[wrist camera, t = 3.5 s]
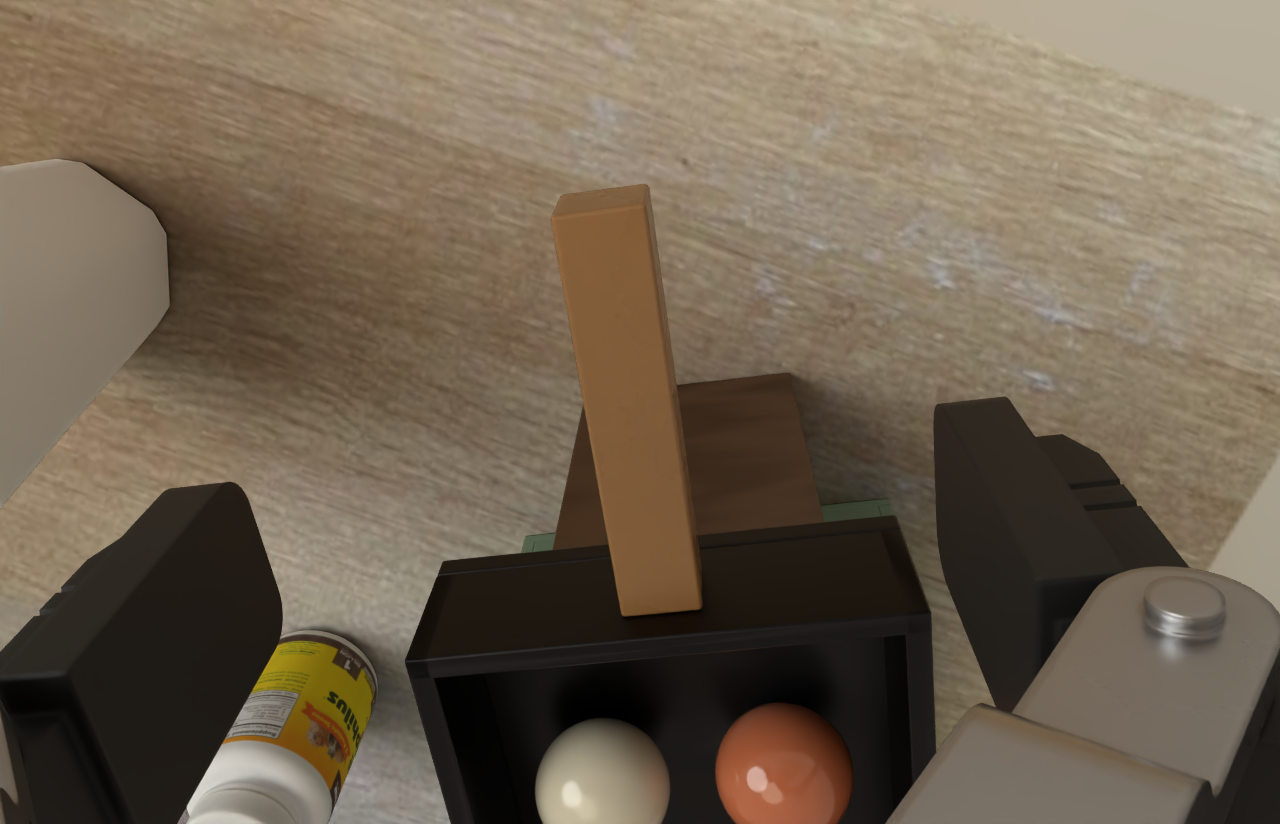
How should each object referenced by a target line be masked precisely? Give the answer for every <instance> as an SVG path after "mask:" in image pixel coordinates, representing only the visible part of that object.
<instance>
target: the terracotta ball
mask: <svg viewBox="0 0 1280 824" xmlns="http://www.w3.org/2000/svg"><path fill="white" fill-rule="evenodd" d="M715 780H716V786H717V791H718V794H719V797H720V800H721V802H722V805H723V806H724V808H725V810H726V812H727V813H728V815H729V816H730V818H731V819H732V820H733V821H734V823H735V824H838V823H839V822H840V820H841V819H842V817H843V816H844V814H845V812H846V810H847V808H848V806H849V803H850V800H851V797H852V793H853V787H854V768H853V762H852V758H851V755H850V752H849V749H848V746H847V744H846V742H845V741H844V739H843V737H842V735H841V734H840V732H839V731H838V730H837V728H836V727H835V726H834V725H833V724H832V723H831V722H830V721H829V720H828V719H827V718H825V717H824V716H823V715H821V714H820V713H819V712H817V711H815V710H813V709H811V708H809V707H807V706H804V705H801V704H798V703H793V702H770V703H766V704H762V705H759V706H757V707H754V708H752V709H750V710H749V711H747V712H746V713H744V714H743V715H741V716H740V717H739V718H738V719H737V720H736V721H735V722H734V723H733V724H732V725H731V726H730V727H729V729H728V730H727V732H726V733H725V735H724V737H723V739H722V741H721V743H720V745H719V749H718V753H717V756H716V763H715Z"/></svg>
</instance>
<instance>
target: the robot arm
mask: <svg viewBox="0 0 1280 824" xmlns="http://www.w3.org/2000/svg"><path fill="white" fill-rule="evenodd" d="M934 459H935V490H936V521H937V538H938V547H939V554H940V559H941V564H942V569H943V573H944V577H945V580H946V583H947V586H948V589H949V591H950V594H951V596H952V599H953V601H954V604H955V606H956V609H957V611H958V613H959V616H960V618H961V621H962V623H963V626H964V628H965V631H966V633H967V636H968V638H969V641H970V643H971V646H972V648H973V651H974V653H975V656H976V658H977V661H978V663H979V666H980V668H981V671H982V673H983V676H984V678H985V681H986V683H987V686H988V688H989V691H990V693H991V696H992V698H993V701H994V703H995V706H996V707H993V706H990V705H987V704H984V703H980V704H977V705H975V706H973V707H972V708H970V709H969V710H968V711H967V712H966V713H965V714H964V716H963V717H962V718H961V719H960V721H959V722H958V723H957V725H956V726H955V728H954V729H953V730H952V732H951V733H950V734H949V736H948V737H947V739H946V740H945V741H944V743H943V744H942V746H941V747H940V748H939V750H938V751H937V752H936V754H935V755H934V757H933V758H932V759H931V761H930V762H929V764H928V765H927V766H926V768H925V769H924V771H923V772H922V773H921V775H920V776H919V777H918V779H917V780H916V782H915V783H914V784H913V786H912V787H911V789H910V790H909V791H908V793H907V794H906V795H905V797H904V798H903V800H902V801H901V802H900V804H899V805H898V807H897V808H896V809H895V811H894V812H893V813H892V815H891V816H890V818H889V819H888V820H887V822H886V823H885V824H1280V614H1279V612H1278V611H1277V610H1276V609H1275V607H1274V606H1273V605H1272V604H1271V603H1270V602H1269V601H1268V600H1267V599H1266V598H1264V597H1263V596H1262V595H1260V594H1259V593H1257V592H1256V591H1255V590H1253V589H1251V588H1250V587H1248V586H1246V585H1244V584H1242V583H1240V582H1237V581H1235V580H1233V579H1230V578H1227V577H1225V576H1222V575H1218V574H1215V573H1211V572H1208V571H1203V570H1197V569H1192V568H1189V566H1188V565H1187V564H1186V563H1185V561H1184V560H1183V559H1182V558H1181V556H1180V555H1179V554H1178V553H1177V551H1176V550H1175V549H1174V548H1173V546H1172V545H1171V544H1170V542H1169V541H1168V540H1167V539H1166V537H1165V536H1164V535H1163V534H1162V532H1161V531H1160V530H1159V529H1158V527H1157V526H1156V525H1155V524H1154V522H1153V521H1152V520H1151V518H1150V517H1149V516H1148V515H1147V513H1146V512H1145V511H1144V510H1143V508H1142V507H1141V506H1137V503H1136V500H1135V498H1134V497H1133V496H1132V494H1131V493H1130V492H1129V491H1128V489H1127V488H1126V487H1125V486H1124V484H1123V485H1120V479H1119V478H1118V477H1117V476H1116V474H1115V473H1114V472H1113V470H1112V469H1111V468H1110V467H1109V465H1108V464H1107V463H1106V462H1105V460H1104V459H1103V458H1102V457H1101V455H1100V454H1099V453H1097V452H1095V451H1093V450H1091V449H1089V448H1087V447H1085V446H1083V445H1082V444H1080V443H1078V442H1076V441H1074V440H1072V439H1070V438H1068V437H1066V436H1065V435H1063V434H1059V435H1050V436H1041V437H1035V436H1034V435H1033V433H1032V432H1031V430H1030V429H1029V428H1028V426H1027V425H1026V423H1025V422H1024V420H1023V419H1022V417H1021V416H1020V415H1019V413H1018V412H1017V410H1016V409H1015V407H1014V406H1013V404H1012V403H1011V402H1010V400H1009V399H1008V398H1007V397H996V398H987V399H978V400H969V401H961V402H952V403H943V404H937V405H936V407H935V411H934ZM61 589H62V591H61V593H55V595H54V596H53V597H52V598H51V599H50V600H49V601H48V602H47V603H46V604H45V605H44V606H43V607H42V608H41V609H40V610H39V611H40V616H34V617H33V618H32V619H31V620H30V621H29V622H28V623H27V624H26V625H25V626H24V627H23V628H22V629H21V631H20V632H19V633H18V634H17V635H16V636H15V637H14V638H13V639H12V640H11V641H10V642H9V643H8V644H7V645H6V646H5V647H4V649H3V650H2V651H1V652H0V824H177V823H178V821H179V819H180V817H181V816H182V814H183V812H184V810H185V809H186V807H187V805H188V803H189V802H190V800H191V798H192V796H193V794H194V793H195V791H196V789H197V787H198V786H199V784H200V782H201V780H202V779H203V777H204V775H205V773H206V771H207V770H208V768H209V766H210V764H211V763H212V761H213V759H214V757H215V756H216V754H217V752H218V750H219V749H220V747H221V745H222V743H223V741H224V740H225V738H226V736H227V734H228V733H229V731H230V729H231V727H232V726H233V724H234V722H235V720H236V719H237V717H238V715H239V713H240V711H241V710H242V708H243V706H244V704H245V703H246V701H247V699H248V697H249V696H250V694H251V692H252V690H253V688H254V687H255V685H256V683H257V681H258V680H259V678H260V676H261V674H262V673H263V671H264V669H265V667H266V666H267V664H268V662H269V660H270V658H271V657H272V655H273V653H274V651H275V650H276V648H277V645H278V643H279V640H280V636H281V631H282V621H283V613H282V602H281V597H280V593H279V590H278V587H277V584H276V581H275V578H274V575H273V572H272V569H271V566H270V563H269V560H268V557H267V554H266V551H265V548H264V545H263V542H262V539H261V536H260V533H259V530H258V527H257V524H256V521H255V518H254V515H253V512H252V509H251V506H250V503H249V501H248V498H247V496H246V494H245V492H244V491H243V490H242V488H241V487H240V486H239V485H237V484H236V483H233V482H225V483H216V484H207V485H198V486H189V487H180V488H171V489H168V490H166V491H164V492H163V493H162V494H161V495H160V496H159V497H158V498H157V499H156V500H155V501H154V503H153V504H152V505H151V506H150V507H149V508H148V509H147V510H146V511H145V512H144V513H143V514H142V516H141V517H140V518H139V519H138V520H137V521H136V522H135V523H134V524H133V525H132V526H131V527H130V529H129V530H128V531H127V532H126V533H125V534H124V535H123V536H122V537H121V538H120V539H118V540H117V541H115V542H114V543H112V544H111V545H109V546H108V547H106V548H105V549H103V550H102V551H100V552H98V553H97V554H95V555H94V556H92V557H91V558H89V559H88V560H87V561H86V562H85V563H84V564H83V565H82V566H81V567H80V568H79V569H78V570H77V571H76V572H75V573H74V574H73V575H72V577H71V578H70V579H69V580H68V581H67V582H66V583H65V584H64V585H63V586H62V587H61Z"/></svg>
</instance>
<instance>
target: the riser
mask: <svg viewBox="0 0 1280 824" xmlns="http://www.w3.org/2000/svg"><path fill="white" fill-rule="evenodd" d="M677 391H678V398H679V406H680V413H681V420H682V427H683V434H684V442H685V449H686V456H687V463H688V471H689V478H690V485H691V492H692V499H693V507H694V514H695V521H696V528H697V535H703V534H712V533H722V532H732V531H742V530H751V529H761V528H771V527H781V526H791V525H800V524H810V523H820V522H824V518H823V514H822V509H821V505H820V501H819V497H818V492H817V488H816V484H815V480H814V476H813V471H812V467H811V463H810V459H809V454H808V450H807V446H806V442H805V438H804V433H803V429H802V425H801V421H800V416H799V412H798V408H797V404H796V400H795V395H794V391H793V387H792V383H791V379H790V374H789V373H781V374H772V375H764V376H755V377H746V378H738V379H729V380H721V381H712V382H703V383H695V384H686V385H677ZM605 544H608V538H607V532H606V527H605V521H604V516H603V510H602V504H601V499H600V493H599V488H598V482H597V476H596V471H595V465H594V460H593V454H592V448H591V443H590V437H589V432H588V426H587V420H586V415H585V409H584V404H583V408H582V412H581V417H580V422H579V426H578V431H577V436H576V441H575V445H574V450H573V455H572V459H571V464H570V469H569V474H568V478H567V483H566V488H565V492H564V497H563V502H562V507H561V511H560V516H559V521H558V525H557V530H556V535H555V539H554V544H553V549H552V550H556V549H566V548H576V547H585V546H595V545H605Z"/></svg>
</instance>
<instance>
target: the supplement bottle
mask: <svg viewBox="0 0 1280 824" xmlns="http://www.w3.org/2000/svg"><path fill="white" fill-rule="evenodd" d="M377 695H378V682H377V677H376V674H375V671H374V669H373V667H372V665H371V663H370V661H369V660H368V659H367V657H366V656H365V655H364V654H363V653H362V651H360V650H359V649H358V648H357V647H356V646H355V645H353V644H352V643H350V642H349V641H347V640H346V639H344V638H342V637H339V636H337V635H334V634H331V633H328V632H323V631H316V630H303V631H296V632H292V633H288V634H286V635H283V636H281V637H280V640H279V643H278V645H277V648H276V650H275V651H274V653H273V655H272V657H271V658H270V660H269V662H268V664H267V666H266V667H265V669H264V671H263V673H262V674H261V676H260V678H259V680H258V681H257V683H256V685H255V687H254V688H253V690H252V692H251V694H250V696H249V697H248V699H247V701H246V703H245V704H244V706H243V708H242V710H241V711H240V713H239V715H238V717H237V719H236V720H235V722H234V724H233V726H232V727H231V729H230V731H229V733H228V734H227V736H226V738H225V740H224V741H223V743H222V745H221V747H220V749H219V750H218V752H217V754H216V756H215V757H214V759H213V761H212V763H211V764H210V766H209V768H208V770H207V771H206V773H205V775H204V777H203V779H202V780H201V782H200V784H199V786H198V787H197V789H196V791H195V793H194V794H193V796H192V798H191V800H190V802H189V803H188V805H187V810H188V813H189V815H190V818H189V820H188V822H187V824H328V822H329V820H330V817H331V815H332V812H333V809H334V807H335V804H336V802H337V800H338V797H339V794H340V792H341V789H342V787H343V784H344V782H345V779H346V777H347V774H348V772H349V769H350V767H351V765H352V762H353V759H354V757H355V755H356V752H357V750H358V747H359V744H360V742H361V739H362V737H363V734H364V732H365V730H366V727H367V724H368V722H369V720H370V717H371V714H372V712H373V709H374V706H375V704H376V700H377Z"/></svg>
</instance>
